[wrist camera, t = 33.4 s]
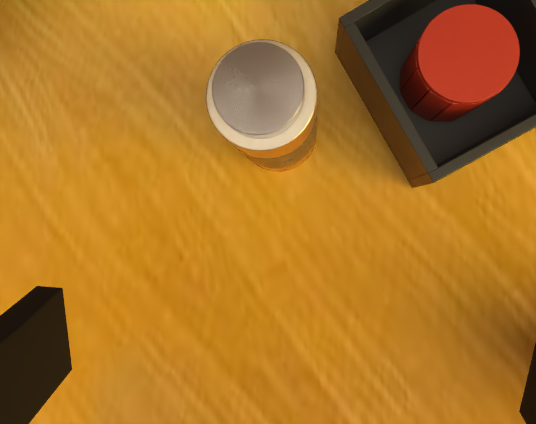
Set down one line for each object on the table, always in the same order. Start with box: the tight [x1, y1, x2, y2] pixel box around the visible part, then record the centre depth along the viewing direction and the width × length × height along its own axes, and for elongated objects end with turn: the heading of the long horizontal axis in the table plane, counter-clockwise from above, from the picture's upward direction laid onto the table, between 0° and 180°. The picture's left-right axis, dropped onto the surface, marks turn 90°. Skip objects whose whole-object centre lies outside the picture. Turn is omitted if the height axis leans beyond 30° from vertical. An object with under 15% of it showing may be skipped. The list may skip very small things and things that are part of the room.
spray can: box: [206, 39, 317, 171], centre depth 34 cm, size 7×7×16 cm
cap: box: [400, 4, 520, 122], centre depth 36 cm, size 7×7×7 cm
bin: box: [335, 0, 536, 188], centre depth 37 cm, size 14×13×7 cm
